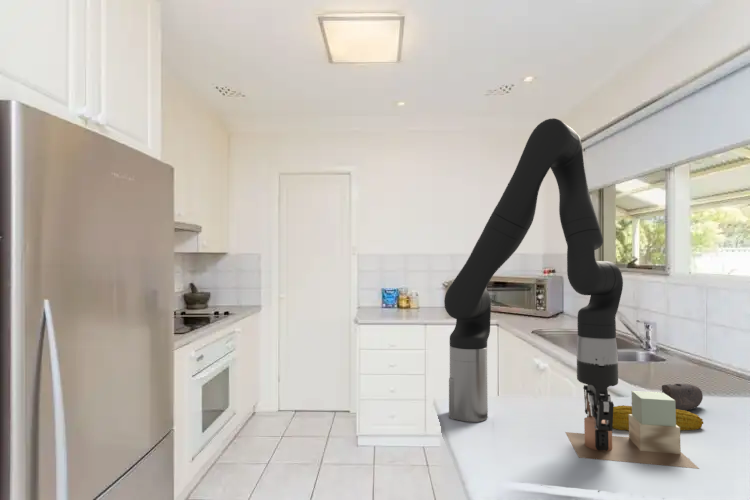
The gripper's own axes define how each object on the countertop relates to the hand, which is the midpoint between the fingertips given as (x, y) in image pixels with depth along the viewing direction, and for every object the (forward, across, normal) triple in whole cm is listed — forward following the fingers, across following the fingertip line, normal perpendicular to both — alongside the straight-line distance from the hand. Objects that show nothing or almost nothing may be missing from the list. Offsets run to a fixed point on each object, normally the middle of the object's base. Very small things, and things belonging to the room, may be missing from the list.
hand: (598, 444), depth 91 cm
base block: (0, -3, +11) cm, 11 cm away
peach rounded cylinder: (0, 0, 0) cm, 0 cm away
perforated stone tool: (+2, -36, +29) cm, 46 cm away
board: (+1, 0, +5) cm, 5 cm away
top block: (-5, -3, +11) cm, 12 cm away
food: (+2, -16, +15) cm, 22 cm away
